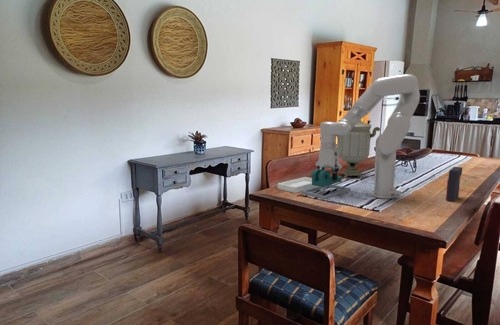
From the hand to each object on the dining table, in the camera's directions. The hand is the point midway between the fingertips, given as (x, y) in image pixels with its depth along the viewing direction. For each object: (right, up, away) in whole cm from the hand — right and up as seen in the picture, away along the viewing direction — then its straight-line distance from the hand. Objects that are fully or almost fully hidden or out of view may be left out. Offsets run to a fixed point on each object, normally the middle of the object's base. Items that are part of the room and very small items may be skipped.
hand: (328, 179), depth 189 cm
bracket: (0, -2, 0) cm, 2 cm away
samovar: (+25, 0, +41) cm, 48 cm away
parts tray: (-13, -5, +13) cm, 19 cm away
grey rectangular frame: (-1, -7, +2) cm, 7 cm away
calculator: (+57, -9, -14) cm, 59 cm away
